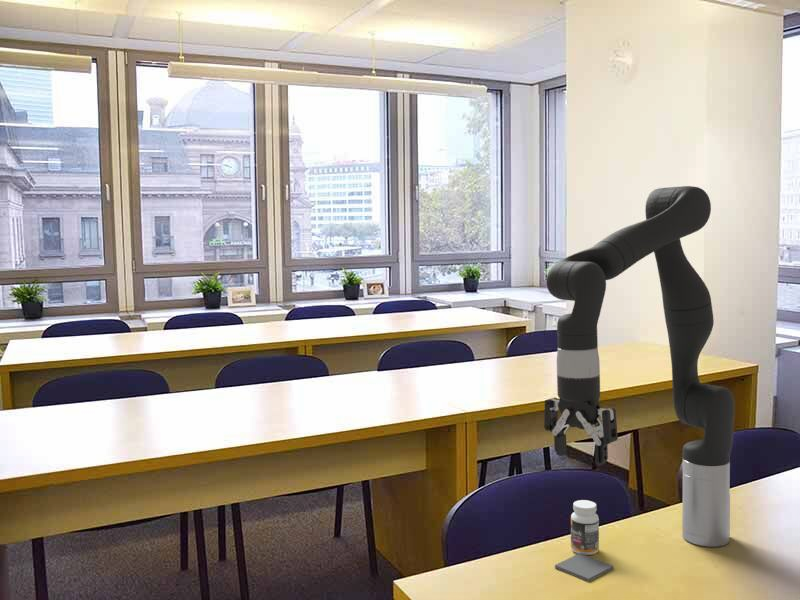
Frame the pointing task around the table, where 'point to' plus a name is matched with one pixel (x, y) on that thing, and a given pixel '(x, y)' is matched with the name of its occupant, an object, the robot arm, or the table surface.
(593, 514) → the pill bottle
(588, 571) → the coaster
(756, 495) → the table surface
